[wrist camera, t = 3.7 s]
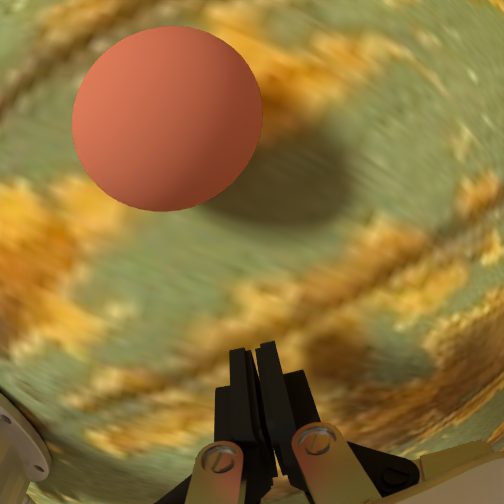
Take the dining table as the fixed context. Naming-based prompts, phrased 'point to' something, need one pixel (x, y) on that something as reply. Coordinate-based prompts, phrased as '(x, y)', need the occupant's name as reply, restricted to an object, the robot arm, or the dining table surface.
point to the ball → (167, 118)
